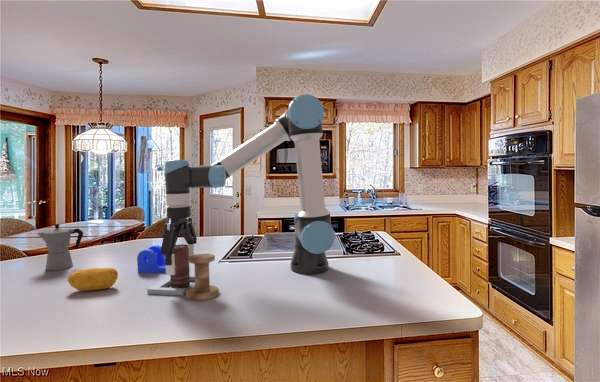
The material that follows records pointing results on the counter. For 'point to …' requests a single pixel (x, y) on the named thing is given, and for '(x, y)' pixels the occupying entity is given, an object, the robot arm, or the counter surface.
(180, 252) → the can
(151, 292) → the grey u-shaped frame
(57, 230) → the coffeepot
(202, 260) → the bobbin
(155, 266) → the bracket
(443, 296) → the counter surface
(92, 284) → the potato
